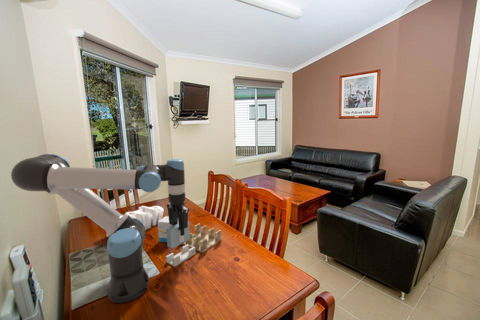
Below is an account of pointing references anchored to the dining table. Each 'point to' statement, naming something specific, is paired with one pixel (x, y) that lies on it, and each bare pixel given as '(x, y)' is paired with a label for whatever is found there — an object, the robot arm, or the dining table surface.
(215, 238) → the rack
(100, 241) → the dining table surface
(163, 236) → the ink box
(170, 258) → the holder
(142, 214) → the wavy white extrusion
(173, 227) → the pale blue slab
